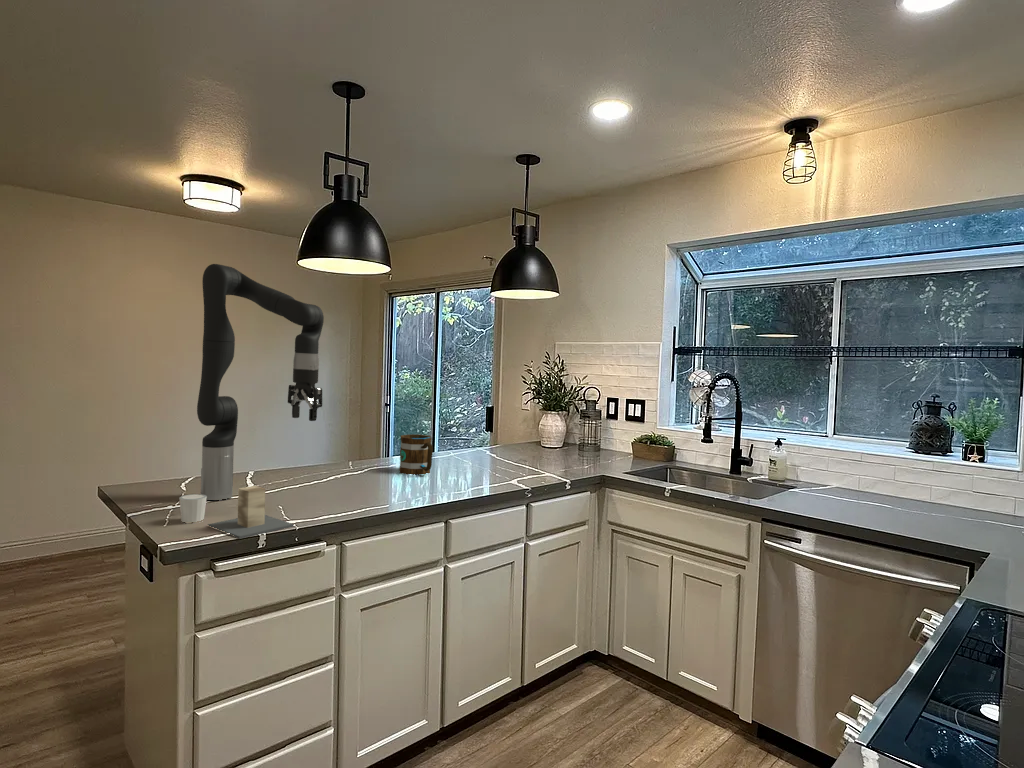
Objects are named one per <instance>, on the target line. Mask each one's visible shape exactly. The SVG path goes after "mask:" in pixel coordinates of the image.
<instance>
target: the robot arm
mask: <svg viewBox="0 0 1024 768" xmlns="http://www.w3.org/2000/svg"><path fill="white" fill-rule="evenodd" d="M202 295H203V297H202V298H203V335H202V358H201V359H202V362H201V374H200V375H201V376H200V383H199V384H200V385H199V391H198V397H197V405H196V406H197V407H196V415H197V419H198V420H199V422H200V424H201V425H203V426H208V427H209V426H210V427H211V426H214V428H213V430H211V432H209V433H208V434H206V435H205V436H204V437H202V449H201V450H202V451H201V453H202V454H201V468H200V494H203V495H206V496H207V498H206V501H207V500H219V501H223V500H222V499H226V500H228V499H227V498H230V499H231V497H232V496H233V487H234V451H235V450H234V449H235V445H234V444H235V439H236V437H237V432H238V431H237V430H238V419H239V407H238V404H237V402H236V400H235V399H234V398H233V397H231V396H228V395H222V396H219V395H220V394H219V393H220V386H221V381H222V380H223V378H224V375H225V374H226V372H227V371H228V369H229V368H230V366H231V363H232V362H233V360H234V357H235V347H236V346H235V345H236V342H235V341H236V340H235V339H236V337H235V332H234V329H233V327H232V324H231V322H230V320H229V319H230V318H229V317H228V314H227V313H228V312H227V305H226V301H227V299H226V298H227V296H234V297H240V298H244V299H246V300H249V301H251V302H254V303H255V304H257V305H258V306H259V307H261V309H264V310H266V311H268V312H270V313H273V314H275V315H278V316H280V317H283V318H284V319H286V320H288V321H290V322H291V323H293V324H295V325H298V326H301V327H302V329H301V332H300V334H297V335H296V336H295V338H294V355H293V362H292V363H293V367H292V382H293V383H295V384H289V385H288V389H287V390H288V393H287V403H288V404H290V406H291V407H292V408H291V418H294V419H298V418H300V412H301V411H300V409H301V403H302V402H303V401H305V403H306V404H308V407H309V410H308V420H309V421H310V422H315V421H317V418H318V417H317V415H318V409H319V408H322V407H323V388H322V387H316V384H318V383H319V369H320V368H319V365H320V363H319V362H320V360H319V359H320V358H319V345H320V344H319V343H320V342H319V341H320V337H321V334H322V330H323V325H324V319H325V318H324V317H325V316H324V312H323V310H322V309H321V307H320V306H318V305H316V304H310V303H305V302H303V301H300V300H297V299H295V298H294V297H293V296H291V295H289V294H287V293H285V292H282V291H280V290H277V289H274V288H272V287H270V286H267V285H263V284H262V283H259V282H257V281H256V280H253V279H251V278H250V277H248V276H247V275H246V274H244V273H242V272H241V271H239V270H237V269H236V268H235V267H232V266H229V265H228V266H227V265H223V264H219V263H211V264H209V265H207V267H206V268H205V269H204V271H203V274H202ZM232 498H233V497H232Z"/></svg>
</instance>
